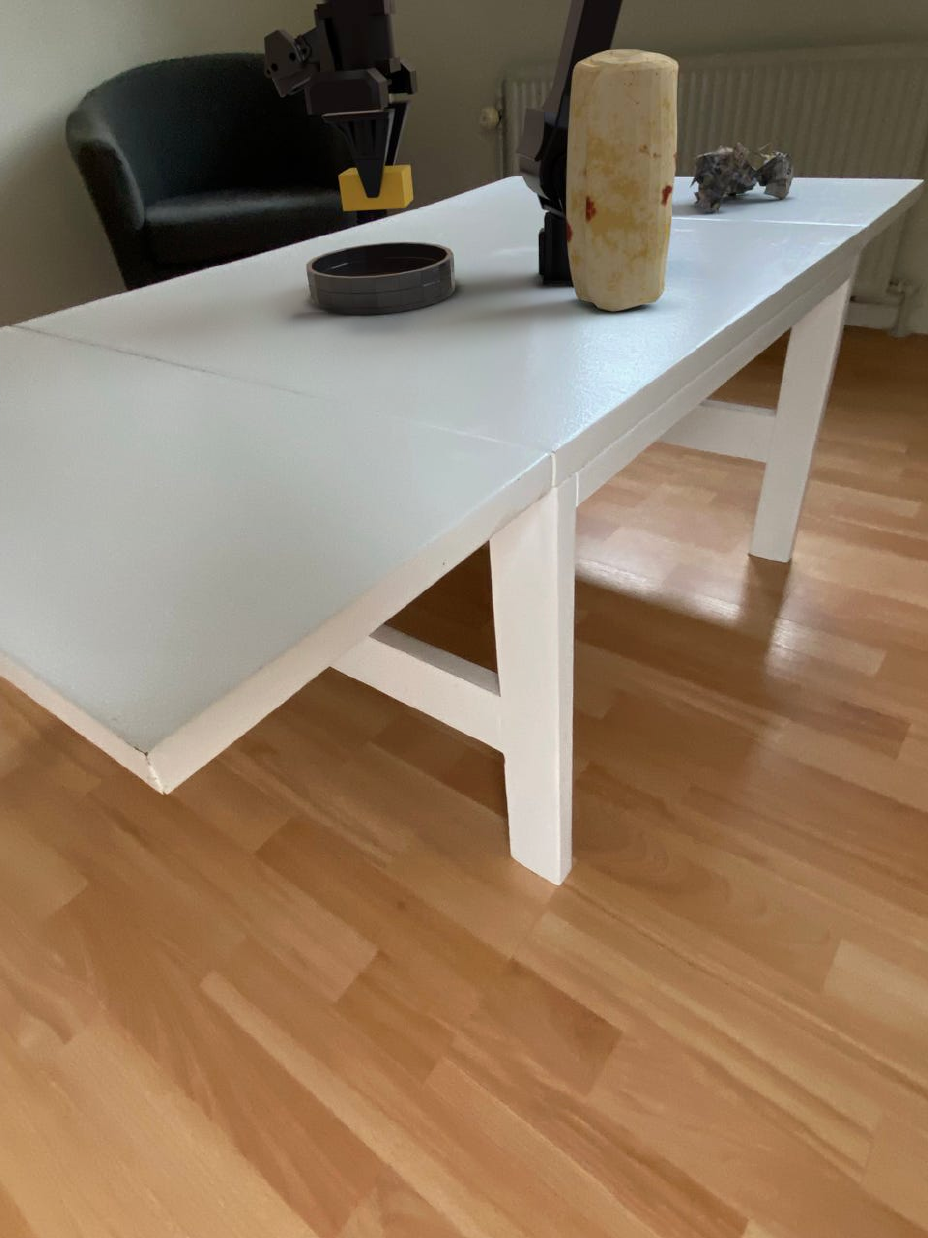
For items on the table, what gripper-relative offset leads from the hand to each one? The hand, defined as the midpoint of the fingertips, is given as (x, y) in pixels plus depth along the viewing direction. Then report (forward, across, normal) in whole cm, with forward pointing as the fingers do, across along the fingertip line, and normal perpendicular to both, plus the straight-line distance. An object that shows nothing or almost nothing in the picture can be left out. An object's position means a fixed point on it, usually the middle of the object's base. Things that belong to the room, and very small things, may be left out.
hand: (378, 192), depth 77 cm
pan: (+10, -3, -2) cm, 11 cm away
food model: (+10, +3, +22) cm, 25 cm away
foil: (+10, -44, +40) cm, 60 cm away
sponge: (+1, 0, 0) cm, 1 cm away
